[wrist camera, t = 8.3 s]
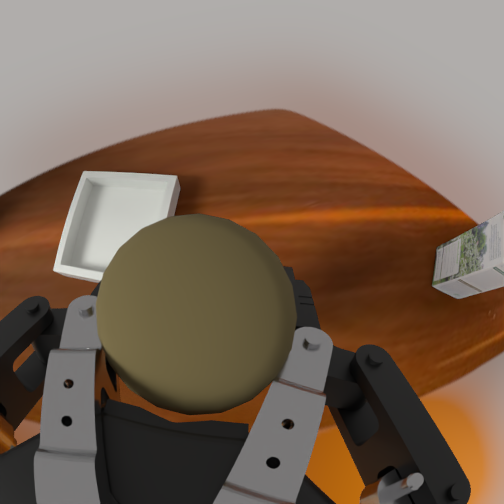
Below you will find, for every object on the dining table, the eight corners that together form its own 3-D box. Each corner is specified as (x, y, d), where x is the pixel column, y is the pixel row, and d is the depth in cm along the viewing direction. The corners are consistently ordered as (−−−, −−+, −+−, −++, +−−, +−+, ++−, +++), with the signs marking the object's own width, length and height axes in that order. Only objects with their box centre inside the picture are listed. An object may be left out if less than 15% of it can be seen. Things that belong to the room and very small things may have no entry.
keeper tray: (65, 275, 25) (53, 270, 23) (91, 182, 29) (83, 171, 26) (159, 293, 26) (152, 289, 23) (180, 188, 29) (177, 175, 27)
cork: (204, 253, 17) (178, 135, 6) (282, 315, 16) (379, 284, 6) (141, 329, 15) (22, 316, 5) (220, 393, 15) (216, 494, 4)
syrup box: (457, 300, 28) (542, 276, 15) (429, 286, 29) (520, 254, 15) (462, 261, 30) (539, 226, 16) (434, 245, 30) (514, 201, 16)
